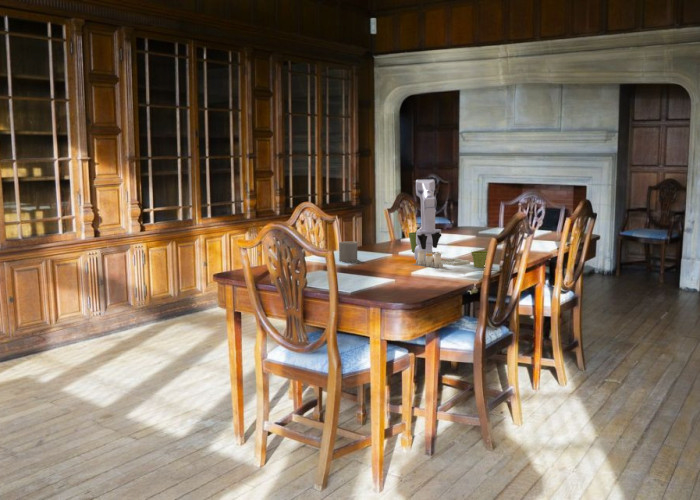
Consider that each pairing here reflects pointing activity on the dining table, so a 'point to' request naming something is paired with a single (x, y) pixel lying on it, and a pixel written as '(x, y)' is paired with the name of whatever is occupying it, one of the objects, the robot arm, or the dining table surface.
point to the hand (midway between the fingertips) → (429, 248)
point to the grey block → (347, 251)
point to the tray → (459, 261)
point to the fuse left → (421, 256)
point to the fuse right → (437, 260)
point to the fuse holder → (430, 265)
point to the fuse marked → (429, 258)
